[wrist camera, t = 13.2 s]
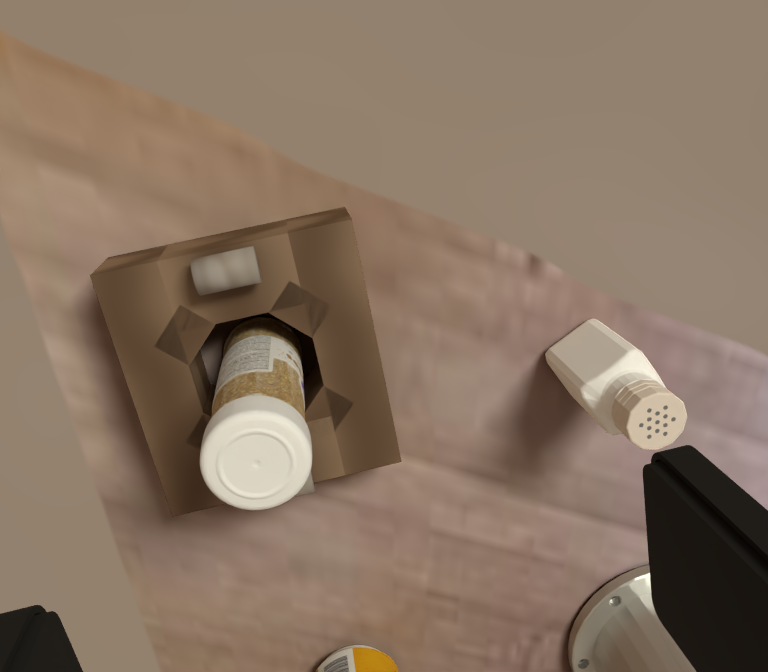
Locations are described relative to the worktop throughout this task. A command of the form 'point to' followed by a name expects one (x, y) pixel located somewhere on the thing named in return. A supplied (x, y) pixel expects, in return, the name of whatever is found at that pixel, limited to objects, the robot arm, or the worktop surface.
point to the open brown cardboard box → (239, 300)
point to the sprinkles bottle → (258, 419)
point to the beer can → (358, 660)
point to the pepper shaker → (617, 386)
